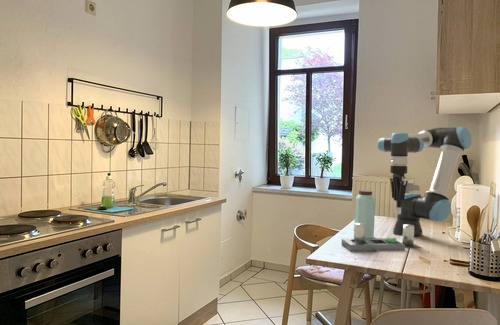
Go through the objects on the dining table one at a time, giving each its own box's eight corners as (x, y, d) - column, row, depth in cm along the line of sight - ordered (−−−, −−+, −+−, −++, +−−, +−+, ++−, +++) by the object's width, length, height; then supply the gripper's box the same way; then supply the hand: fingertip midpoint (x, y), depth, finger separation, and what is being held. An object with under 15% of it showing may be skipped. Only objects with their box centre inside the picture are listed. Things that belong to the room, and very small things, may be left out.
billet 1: (361, 243, 176) (362, 222, 175) (366, 246, 171) (367, 225, 170) (351, 243, 175) (352, 222, 175) (355, 246, 170) (356, 225, 170)
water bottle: (374, 240, 187) (377, 192, 186) (354, 239, 189) (356, 191, 188) (372, 236, 197) (374, 190, 196) (353, 234, 199) (355, 189, 198)
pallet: (392, 244, 181) (392, 238, 181) (404, 251, 169) (405, 245, 169) (341, 244, 178) (341, 238, 178) (350, 251, 166) (351, 245, 166)
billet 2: (409, 244, 180) (410, 224, 180) (415, 246, 175) (416, 226, 175) (400, 244, 180) (401, 224, 179) (405, 246, 175) (406, 226, 175)
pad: (411, 243, 183) (411, 242, 183) (423, 249, 173) (423, 248, 173) (392, 243, 182) (393, 242, 182) (403, 249, 172) (403, 248, 172)
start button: (393, 241, 177) (393, 237, 177) (397, 244, 173) (398, 239, 173) (385, 241, 176) (385, 237, 176) (389, 244, 172) (389, 239, 172)
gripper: (385, 164, 181) (383, 211, 182) (398, 166, 168) (396, 216, 169) (399, 164, 182) (398, 211, 183) (413, 166, 169) (412, 216, 170)
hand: (397, 213), depth 176 cm, fingers closed
